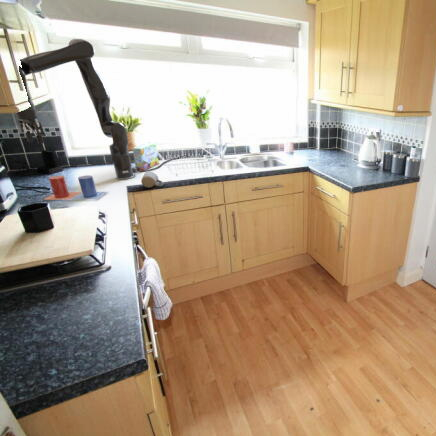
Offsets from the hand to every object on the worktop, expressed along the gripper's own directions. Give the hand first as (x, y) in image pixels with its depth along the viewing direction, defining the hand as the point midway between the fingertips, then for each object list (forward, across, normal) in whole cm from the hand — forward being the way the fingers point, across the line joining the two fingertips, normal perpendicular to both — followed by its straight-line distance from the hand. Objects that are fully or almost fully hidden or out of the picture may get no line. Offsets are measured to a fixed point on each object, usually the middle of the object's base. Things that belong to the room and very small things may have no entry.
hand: (36, 142), depth 159 cm
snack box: (+26, +1, -60) cm, 65 cm away
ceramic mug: (+26, -36, -32) cm, 55 cm away
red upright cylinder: (+26, -13, +2) cm, 29 cm away
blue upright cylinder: (+26, -24, -5) cm, 36 cm away
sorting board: (+26, -18, -1) cm, 32 cm away
